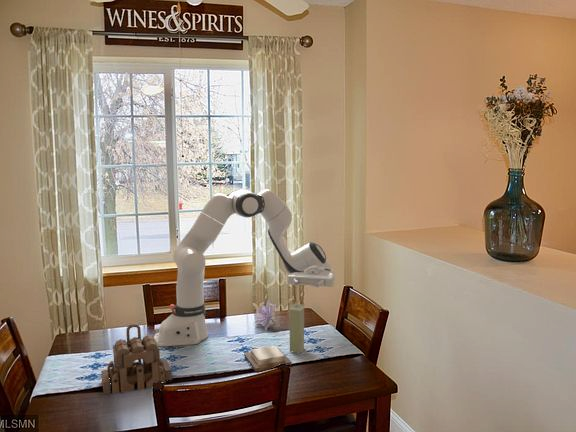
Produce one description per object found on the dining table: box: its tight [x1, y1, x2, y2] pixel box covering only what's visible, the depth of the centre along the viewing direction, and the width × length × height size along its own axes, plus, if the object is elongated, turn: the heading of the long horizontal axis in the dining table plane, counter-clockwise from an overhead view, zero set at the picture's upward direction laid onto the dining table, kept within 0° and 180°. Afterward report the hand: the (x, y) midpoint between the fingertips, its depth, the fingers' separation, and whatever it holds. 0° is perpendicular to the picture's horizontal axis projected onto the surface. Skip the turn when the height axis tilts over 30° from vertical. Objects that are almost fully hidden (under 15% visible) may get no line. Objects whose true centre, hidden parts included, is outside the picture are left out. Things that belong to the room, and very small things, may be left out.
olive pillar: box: [288, 303, 305, 353], centre depth 193 cm, size 5×5×18 cm
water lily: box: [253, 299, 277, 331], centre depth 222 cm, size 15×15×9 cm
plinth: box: [243, 345, 293, 372], centre depth 184 cm, size 14×14×3 cm
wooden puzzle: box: [100, 323, 173, 395], centre depth 168 cm, size 22×15×19 cm, turn 114°
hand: (306, 284), depth 202 cm, fingers open, 8 cm apart
